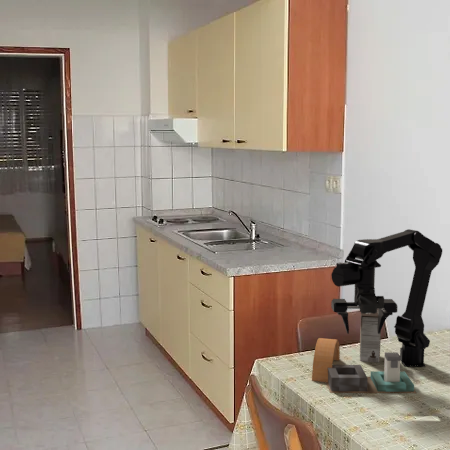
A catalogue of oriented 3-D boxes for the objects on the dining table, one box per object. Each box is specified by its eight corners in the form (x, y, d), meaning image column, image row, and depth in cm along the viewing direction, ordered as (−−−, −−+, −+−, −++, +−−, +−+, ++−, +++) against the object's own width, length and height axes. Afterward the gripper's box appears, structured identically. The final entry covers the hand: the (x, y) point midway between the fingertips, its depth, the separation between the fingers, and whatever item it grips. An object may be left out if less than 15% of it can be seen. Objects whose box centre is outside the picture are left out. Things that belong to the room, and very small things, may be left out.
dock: (405, 380, 185) (405, 363, 184) (416, 396, 173) (417, 379, 172) (324, 379, 185) (324, 363, 185) (329, 396, 174) (330, 378, 173)
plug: (396, 382, 181) (397, 352, 179) (400, 388, 176) (401, 357, 175) (383, 382, 181) (384, 352, 180) (387, 388, 177) (388, 357, 175)
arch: (340, 361, 199) (341, 331, 198) (331, 385, 181) (331, 352, 179) (322, 359, 201) (322, 329, 200) (311, 383, 182) (311, 350, 181)
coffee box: (359, 354, 207) (360, 307, 205) (379, 355, 206) (380, 308, 203) (359, 364, 198) (361, 315, 196) (380, 365, 197) (382, 316, 195)
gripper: (337, 289, 177) (336, 341, 180) (403, 289, 177) (401, 342, 179) (331, 280, 188) (330, 330, 191) (393, 280, 188) (391, 330, 190)
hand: (363, 333), depth 187 cm, fingers open, 9 cm apart
